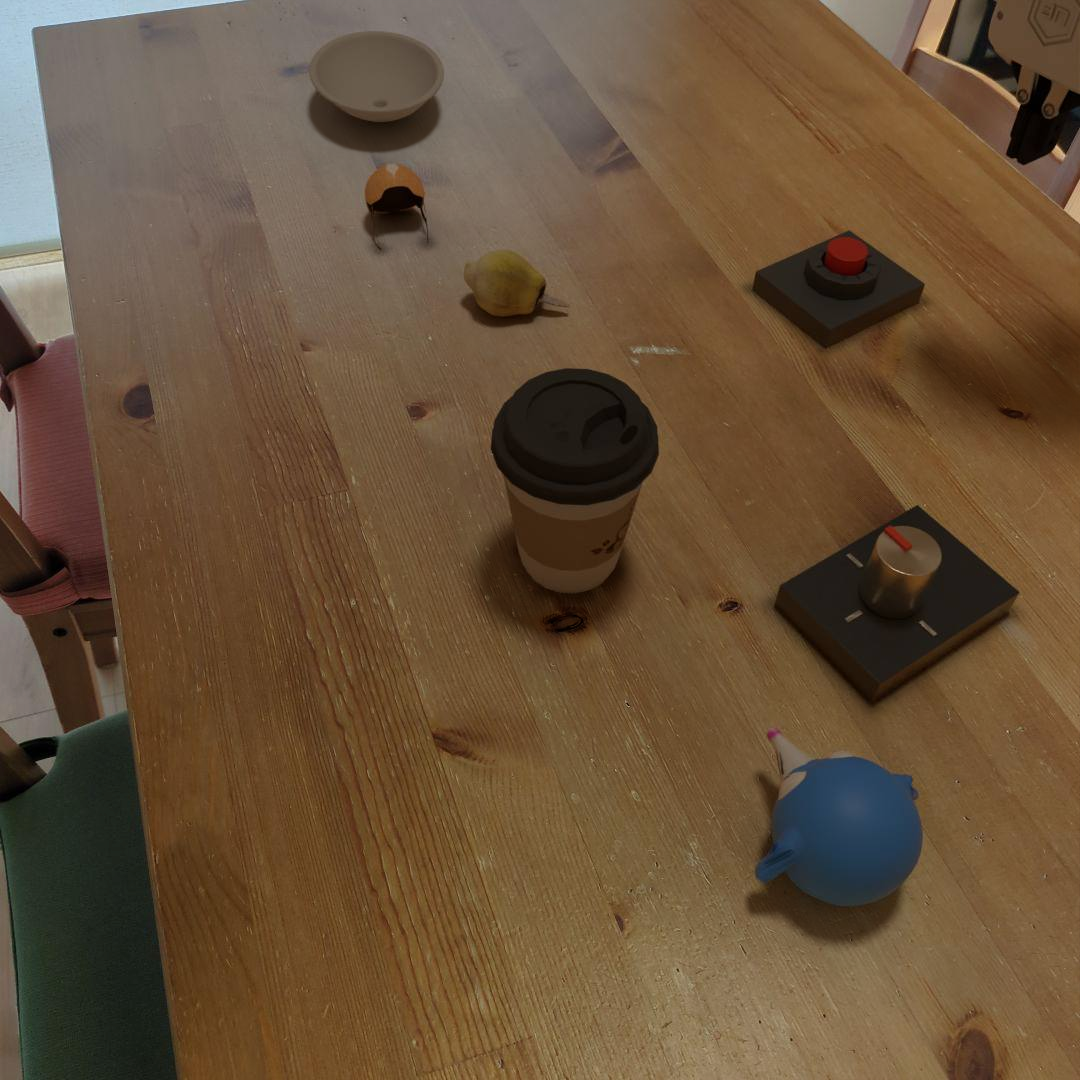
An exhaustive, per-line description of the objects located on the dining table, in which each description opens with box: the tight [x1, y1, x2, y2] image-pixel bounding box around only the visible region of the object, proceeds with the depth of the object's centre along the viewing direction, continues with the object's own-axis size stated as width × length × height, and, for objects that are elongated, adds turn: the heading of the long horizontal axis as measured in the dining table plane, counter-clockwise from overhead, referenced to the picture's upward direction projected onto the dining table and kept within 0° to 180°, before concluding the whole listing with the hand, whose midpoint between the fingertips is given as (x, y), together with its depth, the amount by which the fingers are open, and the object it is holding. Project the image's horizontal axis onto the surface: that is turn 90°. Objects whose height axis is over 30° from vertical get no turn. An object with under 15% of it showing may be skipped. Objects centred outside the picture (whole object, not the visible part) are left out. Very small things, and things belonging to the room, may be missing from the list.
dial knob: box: [859, 525, 942, 619], centre depth 77 cm, size 4×4×5 cm
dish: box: [308, 30, 445, 123], centre depth 123 cm, size 18×14×5 cm
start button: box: [824, 237, 868, 276], centre depth 101 cm, size 4×4×2 cm
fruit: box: [463, 249, 571, 318], centre depth 101 cm, size 6×6×10 cm
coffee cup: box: [490, 367, 660, 594], centre depth 79 cm, size 11×11×15 cm
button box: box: [751, 229, 926, 349], centre depth 103 cm, size 12×10×4 cm
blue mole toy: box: [754, 727, 924, 907], centre depth 67 cm, size 12×12×8 cm
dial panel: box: [774, 504, 1020, 703], centre depth 81 cm, size 14×10×3 cm
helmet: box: [364, 163, 429, 250], centre depth 109 cm, size 6×7×8 cm
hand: (1027, 154), depth 84 cm, fingers closed
